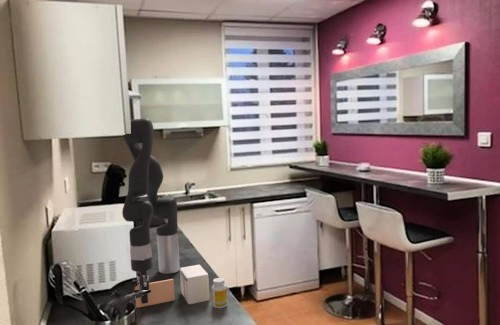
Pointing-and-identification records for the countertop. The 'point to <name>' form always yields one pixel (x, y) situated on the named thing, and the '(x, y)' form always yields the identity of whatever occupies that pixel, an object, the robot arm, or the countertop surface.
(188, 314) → the countertop surface
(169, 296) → the ticket
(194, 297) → the white rectangular block
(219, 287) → the supplement bottle
